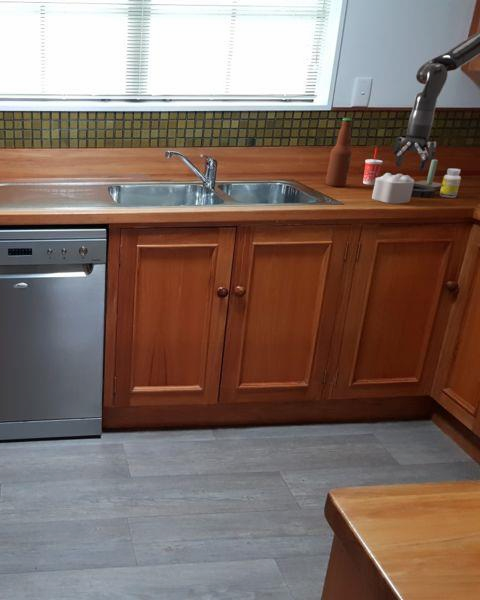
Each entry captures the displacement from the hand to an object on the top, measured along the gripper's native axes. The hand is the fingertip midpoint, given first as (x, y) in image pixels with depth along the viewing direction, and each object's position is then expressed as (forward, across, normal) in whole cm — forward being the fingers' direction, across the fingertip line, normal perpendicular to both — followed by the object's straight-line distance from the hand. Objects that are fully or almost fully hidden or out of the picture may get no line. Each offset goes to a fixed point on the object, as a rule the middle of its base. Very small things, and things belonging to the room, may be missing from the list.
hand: (409, 168), depth 224 cm
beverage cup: (+9, +15, -2) cm, 18 cm away
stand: (+9, -1, -16) cm, 18 cm away
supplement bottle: (+9, -12, -7) cm, 17 cm away
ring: (+9, -5, 0) cm, 10 cm away
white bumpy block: (+9, -5, +16) cm, 19 cm away
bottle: (+9, +20, +13) cm, 26 cm away
